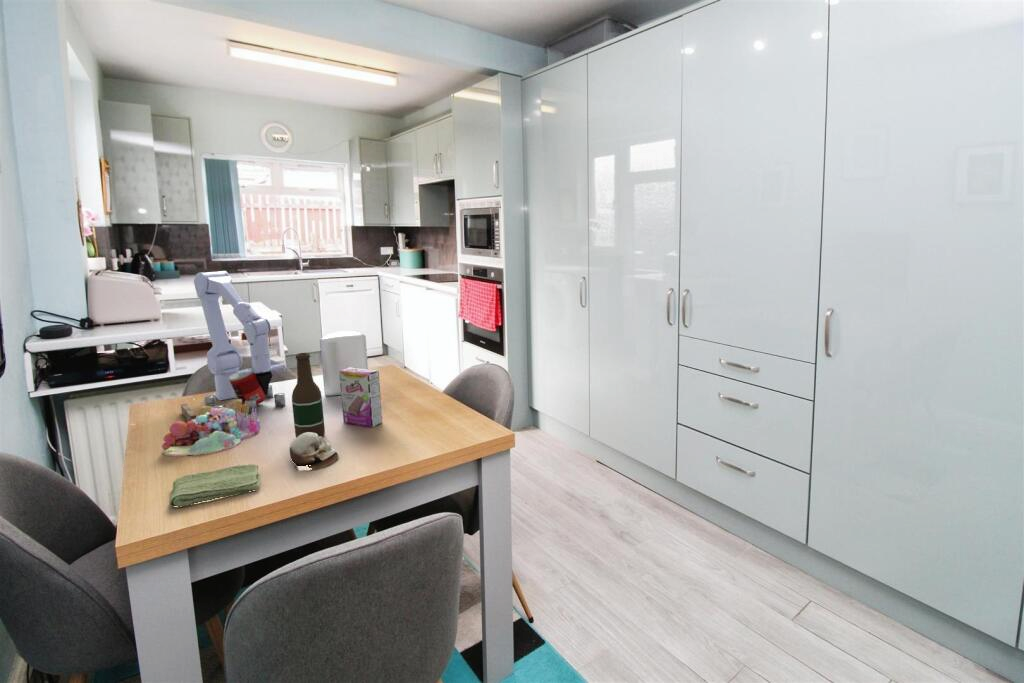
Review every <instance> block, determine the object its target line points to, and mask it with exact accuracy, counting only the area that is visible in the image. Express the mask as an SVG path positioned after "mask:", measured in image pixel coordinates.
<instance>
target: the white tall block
mask: <svg viewBox="0 0 1024 683" xmlns="http://www.w3.org/2000/svg"><path fill="white" fill-rule="evenodd" d="M366 339H367V337H366V335H365V334H364V333H362V332H359V331H356V330H338V331H334V332H331V333H329V334H327V335H323V336H322V337H321V338H320V339H319V347H320V357H321V369H322V378H323V379H322V380H323V389H324V396H327V397H329V396H331V397H333V396H341V385H340V374H339V371H340V370H343V369H346V368H349V367H353V368H361V369H369V364H368V353H367V352H368V351H367V350H368V349H367V340H366Z"/></svg>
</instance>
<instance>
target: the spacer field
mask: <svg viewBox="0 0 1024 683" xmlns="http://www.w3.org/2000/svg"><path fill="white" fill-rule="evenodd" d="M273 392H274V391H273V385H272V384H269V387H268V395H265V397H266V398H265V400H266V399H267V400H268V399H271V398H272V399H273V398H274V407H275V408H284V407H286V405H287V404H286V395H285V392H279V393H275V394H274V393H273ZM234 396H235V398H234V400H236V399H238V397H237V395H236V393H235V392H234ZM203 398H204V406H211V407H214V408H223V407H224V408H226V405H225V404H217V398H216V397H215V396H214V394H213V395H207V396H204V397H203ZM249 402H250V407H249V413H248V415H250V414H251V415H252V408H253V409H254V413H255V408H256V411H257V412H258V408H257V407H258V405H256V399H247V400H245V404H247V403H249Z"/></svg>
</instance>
